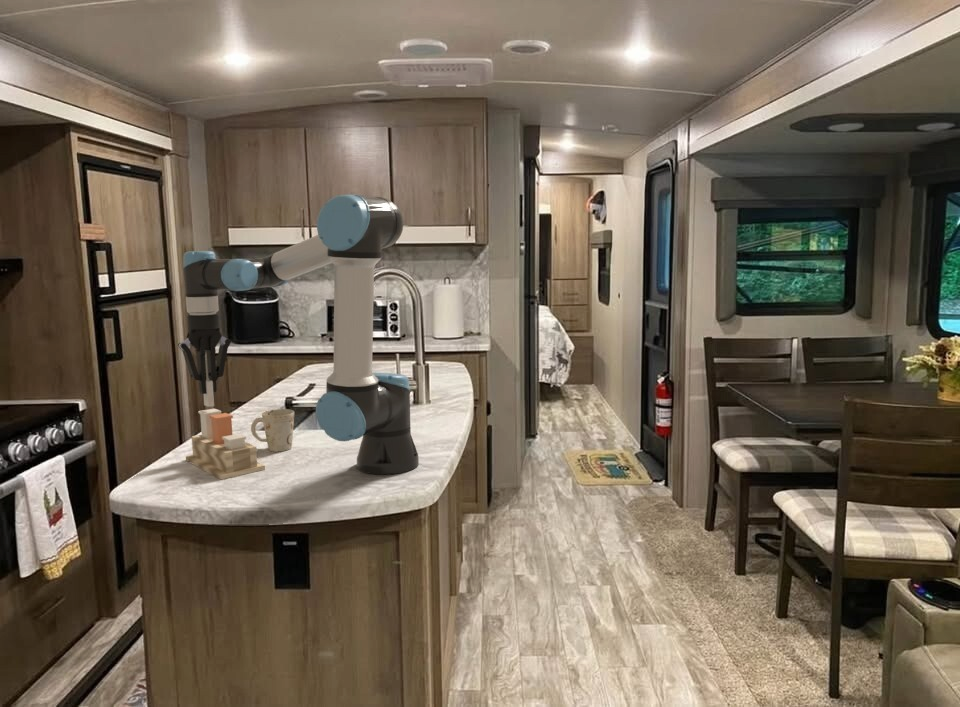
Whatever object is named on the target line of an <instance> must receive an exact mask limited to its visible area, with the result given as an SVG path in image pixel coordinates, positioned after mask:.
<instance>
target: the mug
mask: <svg viewBox="0 0 960 707" xmlns="http://www.w3.org/2000/svg"><path fill="white" fill-rule="evenodd" d="M294 420H295V411H294V410H292V409H289V408H276V409H271V410H270V409H269V410H265V411H264V412H262V413H261V417H256V418H255V419H253V421H252V423H251V426H250V432H251V434H252V436H253V437H254V439H256V440H258V441H260V442H262V443H264V442H265V443H266V444H267V447H268V450H269V451H270V452H273V451H274V452H275V453H276V452H277V453H279V452H278V451H281V452H286V451H285V450H287V451H289V450H291V449H292V447H293V434H294V424H295V423H294V422H295V421H294ZM259 423H263V428H264V433H265V438H262V437H261V436H259V435H258V433H257V430H256V426H257V425H258V424H259ZM290 448H291V449H290Z"/></svg>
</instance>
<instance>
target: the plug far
mask: <svg viewBox="0 0 960 707" xmlns="http://www.w3.org/2000/svg"><path fill="white" fill-rule="evenodd" d="M197 413H198V414H199V416H200V427H201V428H200V429H201V435H202V438H204V439H212V438H213V436H212V422H211V418H210V417H209V416H210V415H216V414H222V410H220V409H217V408H210V409H203V410H199V411H198V412H197Z"/></svg>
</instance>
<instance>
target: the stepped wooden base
mask: <svg viewBox="0 0 960 707" xmlns="http://www.w3.org/2000/svg"><path fill="white" fill-rule="evenodd" d="M191 446H192V448H191V449H192V454H190V455H186V456H185V461H187V462H188V461H189V463H190V462H191V463H190V464H192V463H193V464H192V465H194V466H196V467H198V468H199V467H200V468H199V469H202V470H203V471H206V473H209V474H211V475H212V476H214V477H215V478H217V479H220V480H225V479H229V478H235V477H239V476H243V475H247V474H251V473H252V474H253V473H256V472H261V471H265V470H266V466H265V465H264V464H263V463H260V462H258V457H257V456H258V455H257V446H255V445H253V444H251V443H248V442H247V441H245V448H240V449H235V450H228V449H226V448H225V446H224V444H220V445H217V444H215V443H213V438H212V439H204V438H202V434H197V435H192V436H191Z"/></svg>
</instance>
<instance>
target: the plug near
mask: <svg viewBox="0 0 960 707" xmlns="http://www.w3.org/2000/svg"><path fill="white" fill-rule="evenodd" d="M222 439H223V440H224V446H225V448H226V449H228V450H235V449H240V448H245V442H246V440H247V436H246V435H245V436H244V435H243V434H240V433H235V434H232V435H229V436H224V437H222Z"/></svg>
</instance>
